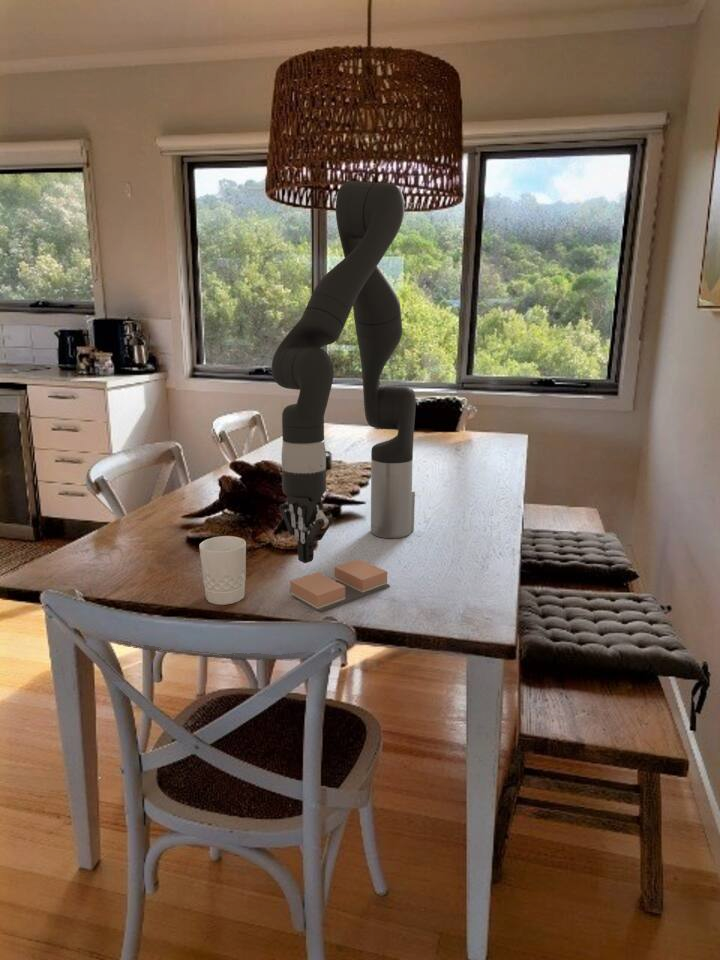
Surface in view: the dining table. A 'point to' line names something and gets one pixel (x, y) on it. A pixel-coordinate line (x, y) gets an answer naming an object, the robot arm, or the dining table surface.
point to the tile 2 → (360, 575)
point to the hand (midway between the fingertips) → (305, 560)
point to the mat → (347, 596)
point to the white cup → (223, 569)
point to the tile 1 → (317, 590)
